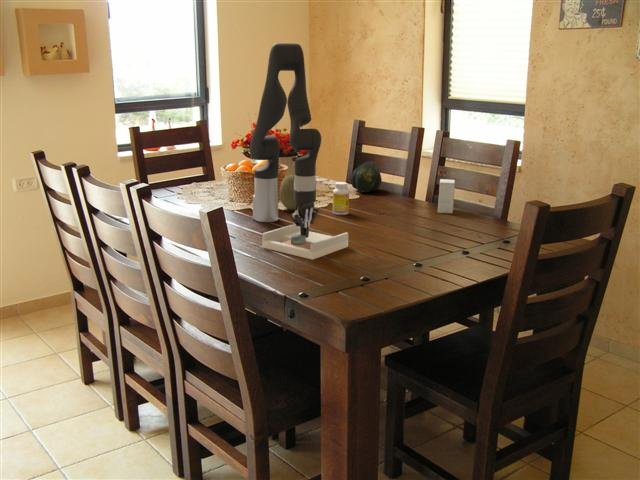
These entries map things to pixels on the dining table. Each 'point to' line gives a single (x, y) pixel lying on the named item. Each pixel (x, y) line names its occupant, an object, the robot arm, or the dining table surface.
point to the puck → (298, 239)
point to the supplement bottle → (341, 199)
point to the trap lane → (311, 250)
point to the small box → (446, 196)
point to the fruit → (288, 192)
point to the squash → (366, 177)
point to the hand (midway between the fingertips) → (304, 237)
